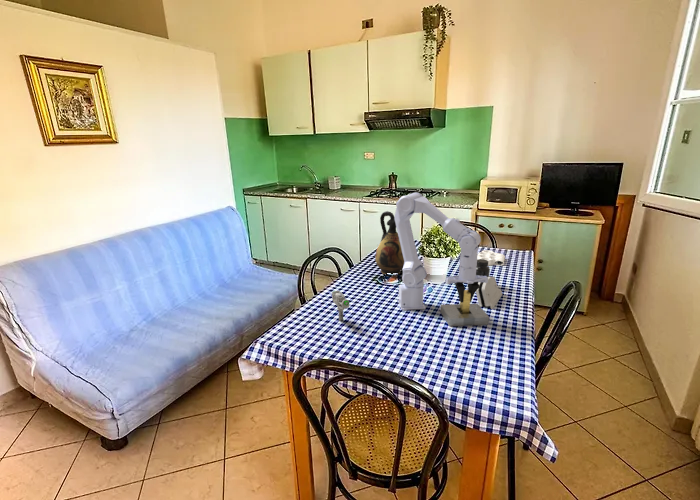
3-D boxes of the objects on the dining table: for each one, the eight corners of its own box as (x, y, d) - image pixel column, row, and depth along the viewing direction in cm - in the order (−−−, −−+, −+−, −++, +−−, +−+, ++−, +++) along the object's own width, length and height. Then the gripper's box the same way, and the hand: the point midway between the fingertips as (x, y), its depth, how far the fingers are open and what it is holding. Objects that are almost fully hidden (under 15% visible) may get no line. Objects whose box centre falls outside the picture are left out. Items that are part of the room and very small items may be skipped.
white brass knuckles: (503, 268, 183) (472, 265, 188) (504, 258, 198) (476, 254, 204) (503, 262, 182) (473, 258, 187) (505, 252, 197) (477, 249, 203)
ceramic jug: (411, 270, 182) (413, 210, 173) (398, 280, 170) (400, 217, 161) (381, 264, 191) (382, 207, 182) (366, 273, 178) (366, 213, 169)
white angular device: (492, 309, 140) (485, 285, 139) (480, 310, 143) (473, 286, 142) (502, 294, 153) (496, 271, 152) (491, 295, 156) (485, 273, 155)
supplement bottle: (471, 288, 160) (473, 262, 156) (472, 282, 166) (474, 257, 162) (487, 290, 157) (490, 264, 154) (488, 284, 163) (491, 259, 160)
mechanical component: (343, 327, 130) (343, 301, 127) (331, 315, 138) (330, 291, 135) (351, 325, 131) (350, 299, 128) (338, 313, 140) (337, 289, 136)
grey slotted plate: (449, 326, 129) (449, 318, 128) (440, 311, 139) (440, 304, 138) (488, 324, 129) (489, 317, 128) (476, 310, 140) (477, 303, 139)
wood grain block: (462, 314, 132) (464, 293, 130) (459, 309, 135) (461, 290, 133) (469, 313, 132) (470, 293, 130) (465, 309, 135) (467, 289, 133)
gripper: (451, 270, 124) (448, 306, 128) (493, 269, 125) (489, 305, 129) (444, 263, 131) (442, 298, 135) (484, 262, 131) (481, 296, 135)
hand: (465, 301), depth 132 cm, fingers closed on wood grain block, 2 cm apart
